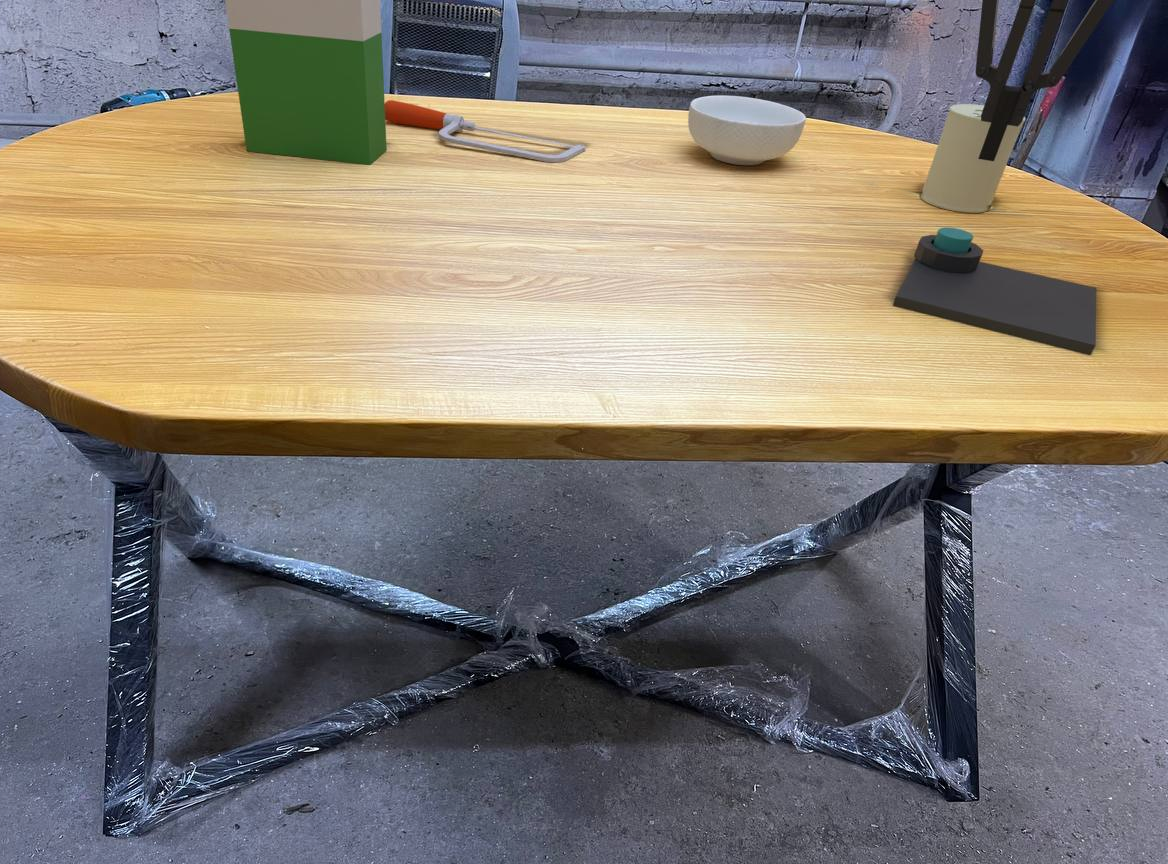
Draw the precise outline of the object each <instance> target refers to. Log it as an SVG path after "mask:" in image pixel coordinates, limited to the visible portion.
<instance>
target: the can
mask: <svg viewBox="0 0 1168 864" xmlns="http://www.w3.org/2000/svg"><path fill="white" fill-rule="evenodd" d="M984 105H985V104H984ZM984 105H983V104H975V103H974V104H973V103H960V104H959V103H958V104H953V105H950V107H949V109H948V114H947V117H946V120H945V123H944V126H943V129H942V132H941V135H940V139H939V141H938V144H937V147H936V150H935V153H934V156H933V158H932V162H931V165H930V167H929V171H928V173H927V176H926V179H925V182H924V184H923V187H922V189H921V190H922V191H920V192H919V198H920V199H921V200H922V201H923V202H925V203H927V204H929V205H931V206H934V207H937V208H940V209H943V210H947V211H951V212H957V213H965V214H981V213H986V212H989V211H990V210H991V208H992V205H991V204H993V201H994V198H995V195H996V192H997V190H998V187H999V185H1000V182H1001V179H1002V177H1003V175H1004V172H1005V170H1006V167H1007V165H1008V162H1009V160H1010V157H1011V155H1012V152H1013V149H1014V147H1015V144H1016V142H1017V141H1018V140H1017V139H1018V137H1019V134H1020V132H1021V130H1022V128H1023V125H1024V123H1025V122H1026V117H1025V116H1024V118H1023V121H1022V122H1021V124H1020V125H1019V126H1018V127H1017V126H1011V125H1007V128H1006V131H1005V133H1004V136H1003V139H1002V142H1001V144H1000V147H999V150H998V152H997V155H996V157H995V160H994V161H988V160H982V159H978V158H979V155H980V152H981V150H982V147H983V144H984V141H985V139H986V136H987V133H988V130H989V127H990V125H991V122H984V121H981V114H982V111H983V108H984Z"/></svg>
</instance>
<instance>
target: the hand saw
mask: <svg viewBox="0 0 1168 864" xmlns="http://www.w3.org/2000/svg"><path fill="white" fill-rule="evenodd" d="M385 121H387V122H390V123H394V124H399V125H404V126H405V125H406V126H412V127H418V128H427V129H434V130H439V131H438V138H439V139H440V140H442V141H443V142H447V143H450V144H456V145H460V146H466V147H470V148H476V149H479V150H480V149H481V150H484V151H485V150H486V151H490V152H491V151H492V152H495V153H500V154H504V155H505V154H506V155H511V156H515V157H520V158H526V159H530V160H535V161H540V162H545V163H563V162H567V161H568V160H570V159H572V158H574V157H576V156H577V155H579V154H581V153H583V152H585V151H586V148H587V146H586V145H582V144H577V145H572V144H566V143H561V142H557V141H552V140H547V139H540V138H536V137H532V136H526V135H520V134H515V133H510V132H504V131H501V130H500V131H499V130H495V129H490V128H484V127H479V126H476V123H475V122H473V121H469V120H465V118H464V116H463V115H458V114H450V113H446V112H443V111H439V110H436V109H432V108H429V107H426V106H425V107H424V106H421V105H417V104H412V103H408V102H403V101H397V100H393V99H389V100H387V101H386V100H385ZM475 129H477V130H481V131H488V132H493V133H497V134H502V135H506V136H507V135H508V136H511V137H518V138H522V139H523V138H524V139H529V140H534V141H539V142H544V143H549V144H554V145H559V146H565V147H570V148H569V149H567V150H566V151H564V152H562V153H560V154H555V155H554V154H551V155H550V154H544V153H539V152H533V151H529V150H524V149H520V148H519V149H518V148H514V147H508V146H505V145H504V146H503V145H498V144H493V143H489V142H483V141H478V140H473V139H469V138H462V137H457V136H453V135H451V134H452V133H458V134H462V132H463V131H464V130H465V131H467V132H468V131H469V132H474V131H475Z"/></svg>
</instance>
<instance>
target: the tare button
mask: <svg viewBox="0 0 1168 864" xmlns="http://www.w3.org/2000/svg"><path fill="white" fill-rule="evenodd" d="M935 235H936V238H935V240H934V243H933V245H934V246H935V247H936V248H939V249H941V250H945V251H949V252H953V253H967V252H968V250H969V247H970V245H971V242H972V243H973V240H974V235H973V234H972V233H970V232H969V231H967V230H964V229H960V228H955V227H940V228H939V229H938V230H937V232H936V234H935Z"/></svg>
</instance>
